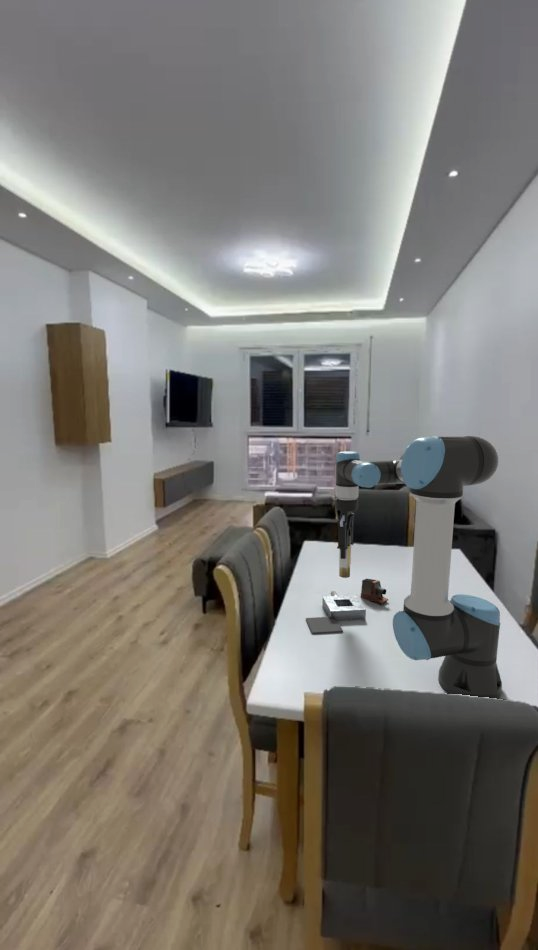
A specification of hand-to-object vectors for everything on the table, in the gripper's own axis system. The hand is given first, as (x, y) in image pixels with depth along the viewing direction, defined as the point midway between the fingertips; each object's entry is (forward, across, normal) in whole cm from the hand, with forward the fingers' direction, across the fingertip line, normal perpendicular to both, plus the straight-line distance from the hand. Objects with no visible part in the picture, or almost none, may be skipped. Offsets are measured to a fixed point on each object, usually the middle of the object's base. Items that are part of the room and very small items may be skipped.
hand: (344, 565), depth 162 cm
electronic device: (+17, -15, +8) cm, 24 cm away
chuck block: (+17, -4, -2) cm, 18 cm away
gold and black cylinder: (+4, 0, 0) cm, 4 cm away
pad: (+17, +12, -4) cm, 21 cm away
